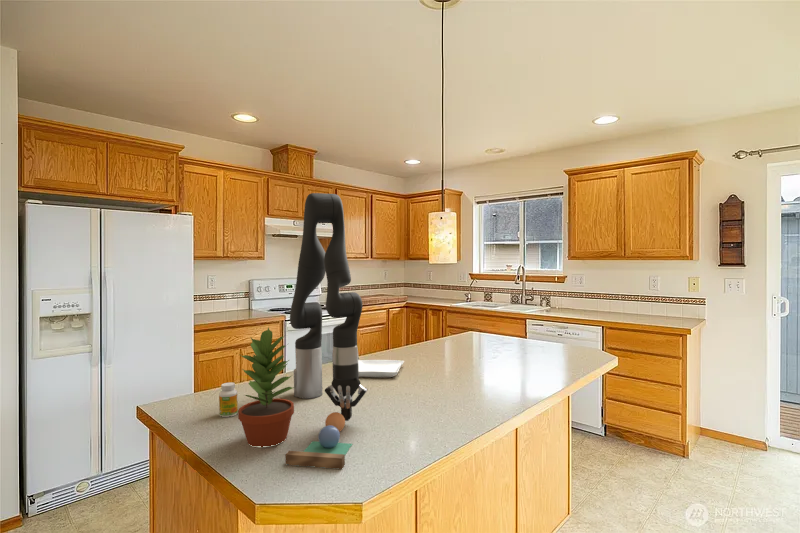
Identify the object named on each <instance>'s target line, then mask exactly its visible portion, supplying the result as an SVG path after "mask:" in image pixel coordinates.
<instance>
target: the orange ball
mask: <svg viewBox="0 0 800 533" xmlns="http://www.w3.org/2000/svg"><path fill="white" fill-rule="evenodd" d="M324 424H325V426H328V425H332V426H334V427H336V428H337V429H338V430H339V433H340V432H341V431H342V430H344V428H345V426H346V421H345V419H344V416H343V415H342V414H341V412H336V411H334V412H331V413H329V414H328V415H327V416H326V419H325V423H324Z"/></svg>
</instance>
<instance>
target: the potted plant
mask: <svg viewBox="0 0 800 533" xmlns="http://www.w3.org/2000/svg"><path fill="white" fill-rule="evenodd" d="M284 337H285V335H284V336H280V337H279V338H277V339H276V340H275V341H274V342H273V331H272V330H271V329H270V328H269V326H268V328H267V330H264V331H262V333H261V334H260V339H255V338H253V337H250V339H251V343H249V344H250V347H251V349H252V351H253V353H254V354H253V355H246V354H245V355H242V354H239V356H240V357H242V358H244V359H245V360H246V361H247V360H248V361H249V362H251V363H252V364H251V367H252V370H251V369H246V370H245V369H243V368H242V369H241V370H242V371H243V372H244V373H245V374H246V375H247V376H249V377H250V378H251V379H252V380H250V379H249V380H248V381H249V382H248V385H249V386H250V387H251V388H252V389H253V390H254V391H255V393H257V396H258V397H257V396H254V395H249V394H245V395H244V394H243V396H245V397H248V398H251V399H254V401H251V402H247V403H245V404H244V405H242V406H240V407H238V413H237V414H238V415H237V416H238V420H239V422H240V423H241V425H242V430H243V433H244V435H245V436H244V437H245V438H246V442H247V445H249V444H250V445H252V446H261V447H263V446H271V445H276V444H278V443H281V442H282V441H284V440H285V439H286V440H287V437H288V435H289V434H288V433H289V429H290V425H291V420H292V415H294V414H295V406H294V405H295V403H294V402H293V401H292V400H290V399H285V398H275V397H277V396H279V395H282V394H283V393H284V394H285V393H287V392H288V391H290V390H292V389H294V386H287V387H283V388H281V389H279V390H277V391H276V390H275V389H276V388H278V387H279V386H280V385H282V384H284V383H285V382H286V381H288V380H289V379H290V378H291V377H292V375H290V376H283V377H280V378H278V379H277V380H276V381H274V380H275V378H276V376H277V375H278V374H280V373H281V372H282V371H283V370H284V369H285V368H286V367H287V365H288V362H289V361H290V359H288V360H283V358H284V355H283V354H281V355H279V356H278V357H276V358H275V359H274V360H273V358H274V357H275V356H277V355H278V354H279V353H280V352H281V351H282V350H283V349H285V348H286V346H287V345H289V343H287V344H284V345H281V346H279V347H277V346H278V345H279V343H280V342H281V341H282V340H283V338H284ZM276 347H277V349H276ZM273 350H274V351H273ZM282 360H283V361H282ZM253 380H254V381H253ZM295 387H296V386H295ZM274 390H275V391H274ZM286 440H285V441H286ZM285 441H284V442H285ZM282 443H283V442H282ZM282 443H281V444H282ZM250 445H249V446H250ZM278 445H279V444H278ZM252 446H251V447H252ZM276 446H277V445H276Z"/></svg>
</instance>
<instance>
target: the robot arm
mask: <svg viewBox="0 0 800 533" xmlns="http://www.w3.org/2000/svg"><path fill="white" fill-rule="evenodd" d="M318 224H331V226H332V235H331V239H330V241H329V244H328V246H327V248H326V250H325V249H324V247H323V245H322V243H321V242H320V240H319V237H318V235H317V225H318ZM302 228H303V229H302V237H301V238H302V240H301V247H300V251H299V256H298V257H299V258H298V265H297V274H296V282H295V283H296V284H295V289H294V294H293V298H292V302H291V307H290V310H289V311H290V312H289V322H290V326H291V327H292V328H293V329H295V330H302V329H309V331H308V332H307V333H306V334H304V335H302V336H300V337H298V338H297V339H296V340H295V342H294V344H295V345H294V346H295V348H294V349H295V350H294V351H295V368H294V369H293V387H294V388H293V396H294V397H296V398H300V399H315V398H318V397H320V396H322V395H323V362H322V361H323V358H322V356H323V355H322V351H323V350H322V337H323V336H322V335H323V332H322V331H323V308H322V305H321V304H320V303H319V302H316V301H312V302H306V301H307V300H308V298H309V296H310V295H311V294H312V293H313V292H314V291H315V289H316V288H318V287H319V285H320V284H321V283H322V281H323V280H324V278H325V275H326V281H327V284H326V285H327V286H326V287H327V288H326V299H325V309H326V312H327V314H328V315H329V316H330V317H331V318H333V319H337V318H339V319H340V318H345V320H344V322H343V323H341V324H338V325H336V326H334V327H333V329H332V353H331V354H332V356H331V359H332V381H331V384H330V385H329V386H328V385H327V387H326V388H325V389H324V392H325V394H326V395H327V397H328V398H329V399H330V401H332V404H334V406H335V407H340V411H341V412H340V414H342V415H343V416H344V419H345V422H346V421H347V422H349V421H350V419H351V418H352V416H353V409H352V408H354V407H356V406H357V405H358V403H359V402H360V401H361V400H362V398H363V397H364V395H365V394H366V393H367V392H368V388H367V387H364V386H363V385H361V380H360V377H359V365H358V360H360V358H359V350H358V349H359V348H358V328H359V324H360V320H361V316H362V312H363V306H364V304H363V300H362V297H361V296H360V294H359V293H357V292H354V291H353V292H340V288H344V287H346V286H348V285H350V284H351V282H352V276H351V275H352V274H351V271H350V267H349V266H350V265H349V262H348V256H347V249H346V248H347V247H346V230H345V228H346V227H345V214H344V205H343V201H342V199H341V197H340V196H339V195H338V194H336V193H325V192H324V193H322V192H321V193H320V192H319V193H318V192H315V193H314V192H313V193H309V194H308V195H307V197H306V199H305V202H304V211H303V227H302ZM295 386H296V387H295ZM357 390H358V391H357ZM356 392H357V394H358V395H357V396H356V397H355V399H354V400H353V398H354V395H355V394H356Z"/></svg>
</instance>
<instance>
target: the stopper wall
mask: <svg viewBox="0 0 800 533" xmlns="http://www.w3.org/2000/svg"><path fill="white" fill-rule="evenodd" d="M345 456H346V455H344V454H330V453H315V452H303V451H297V450H288V451H287V452H286V453H285V458H284V460H285V465H286V464H289V465H288V466H294V465H299V466H298V467H307V466H315V467H314V468H320V467H325V468H324V469H333V468H339V469H338V470H343V469H344V467H345V466H344V465H346V462H345V460H346V459H345V458H346V457H345ZM342 468H343V469H342Z"/></svg>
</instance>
